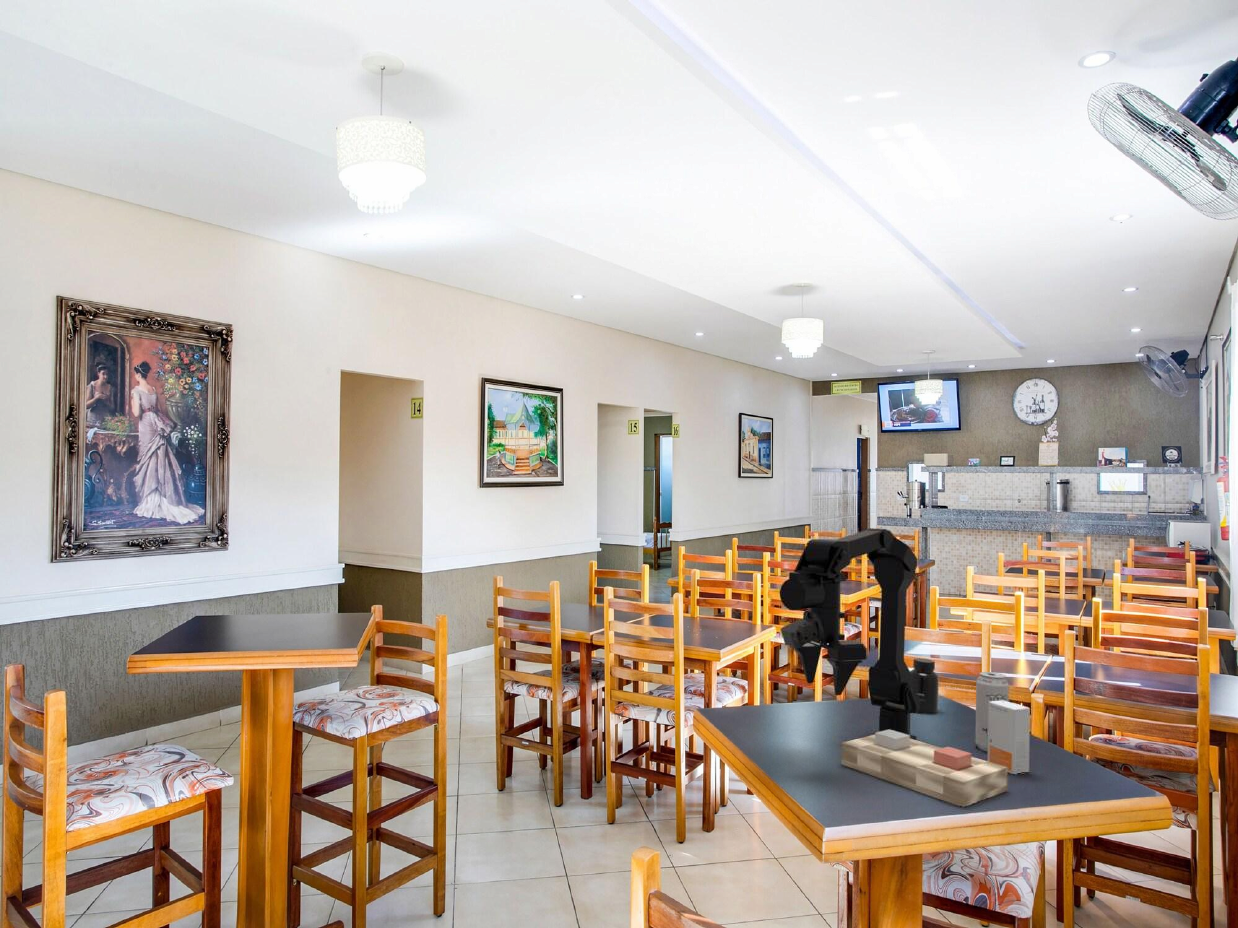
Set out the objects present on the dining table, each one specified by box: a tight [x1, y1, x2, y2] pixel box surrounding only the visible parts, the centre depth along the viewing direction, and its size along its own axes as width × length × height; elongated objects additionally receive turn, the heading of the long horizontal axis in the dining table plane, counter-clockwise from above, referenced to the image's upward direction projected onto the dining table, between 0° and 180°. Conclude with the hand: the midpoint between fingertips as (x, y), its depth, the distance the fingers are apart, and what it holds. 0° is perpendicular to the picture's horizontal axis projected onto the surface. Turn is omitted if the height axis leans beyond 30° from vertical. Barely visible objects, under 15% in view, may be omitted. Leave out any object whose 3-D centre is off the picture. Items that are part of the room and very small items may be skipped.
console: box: [840, 734, 1008, 808], centre depth 141 cm, size 14×24×4 cm, turn 36°
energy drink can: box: [975, 671, 1010, 753], centre depth 160 cm, size 6×6×15 cm
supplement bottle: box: [909, 657, 940, 715], centre depth 189 cm, size 7×7×12 cm
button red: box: [934, 746, 973, 771], centre depth 137 cm, size 4×4×4 cm
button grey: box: [874, 729, 911, 751], centre depth 146 cm, size 4×4×4 cm
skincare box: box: [986, 700, 1031, 775], centre depth 148 cm, size 6×4×12 cm
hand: (823, 689), depth 149 cm, fingers open, 9 cm apart
